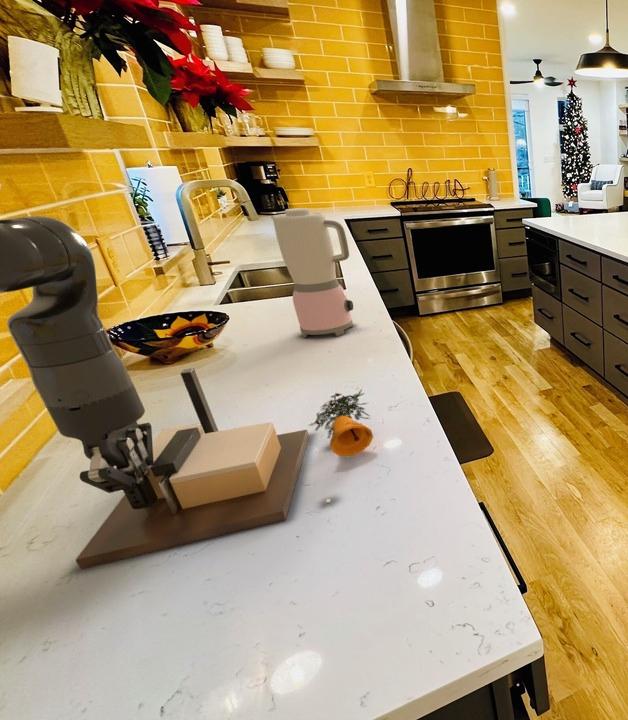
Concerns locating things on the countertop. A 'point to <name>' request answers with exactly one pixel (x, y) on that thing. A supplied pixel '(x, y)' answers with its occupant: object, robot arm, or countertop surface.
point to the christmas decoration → (345, 426)
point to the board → (164, 530)
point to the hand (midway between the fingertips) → (146, 504)
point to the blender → (314, 270)
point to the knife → (174, 462)
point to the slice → (159, 446)
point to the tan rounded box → (227, 465)
